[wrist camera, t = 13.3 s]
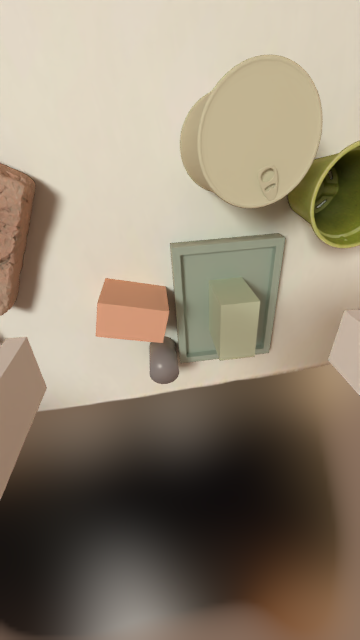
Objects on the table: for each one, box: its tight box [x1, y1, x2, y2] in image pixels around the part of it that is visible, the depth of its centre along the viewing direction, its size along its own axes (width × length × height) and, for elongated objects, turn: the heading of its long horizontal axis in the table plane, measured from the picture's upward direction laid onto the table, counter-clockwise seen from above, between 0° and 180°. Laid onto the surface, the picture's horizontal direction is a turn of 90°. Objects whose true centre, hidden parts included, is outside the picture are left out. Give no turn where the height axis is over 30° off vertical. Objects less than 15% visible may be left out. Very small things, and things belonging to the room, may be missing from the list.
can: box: [180, 55, 322, 208], centre depth 24 cm, size 9×9×12 cm
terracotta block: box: [96, 278, 169, 343], centre depth 35 cm, size 4×8×7 cm, turn 79°
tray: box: [170, 233, 285, 363], centre depth 38 cm, size 14×18×2 cm
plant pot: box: [288, 141, 360, 248], centre depth 29 cm, size 9×9×9 cm
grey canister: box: [150, 336, 179, 384], centre depth 40 cm, size 4×4×6 cm
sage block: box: [209, 277, 260, 361], centre depth 35 cm, size 4×8×7 cm, turn 4°
